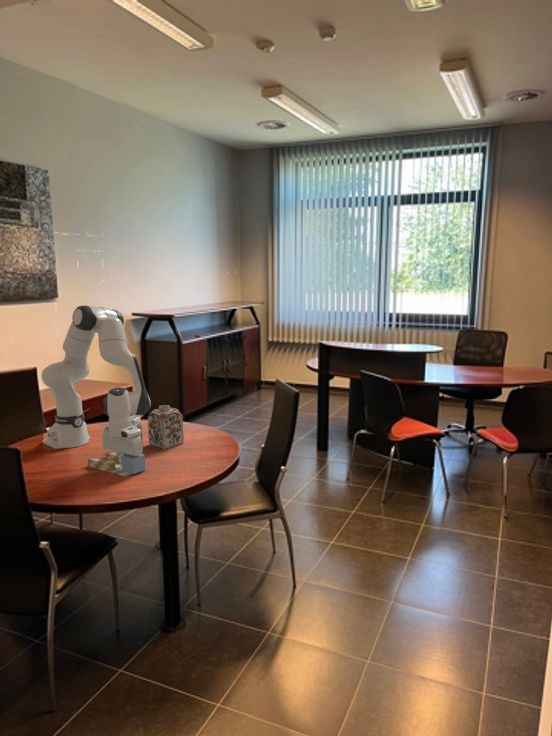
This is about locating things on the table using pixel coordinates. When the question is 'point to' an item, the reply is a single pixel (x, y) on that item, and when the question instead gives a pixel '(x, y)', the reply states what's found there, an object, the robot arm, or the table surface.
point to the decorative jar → (165, 427)
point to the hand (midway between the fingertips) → (123, 462)
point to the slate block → (133, 463)
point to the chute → (108, 464)
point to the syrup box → (137, 424)
